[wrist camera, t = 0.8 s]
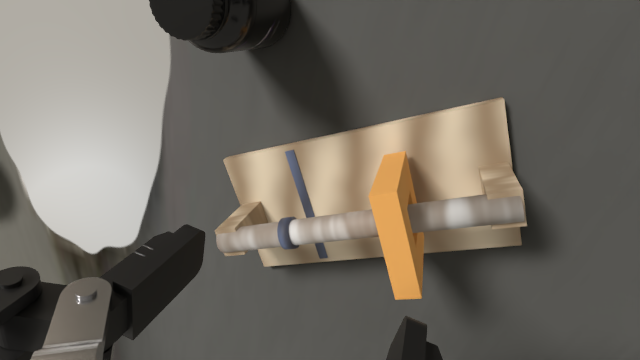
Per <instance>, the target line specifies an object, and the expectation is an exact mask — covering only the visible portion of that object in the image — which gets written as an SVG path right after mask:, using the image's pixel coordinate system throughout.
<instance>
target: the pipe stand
mask: <svg viewBox="0 0 640 360" xmlns="http://www.w3.org/2000/svg"><path fill="white" fill-rule="evenodd" d="M403 151H406V155H407V159H408V164H409V169H410V173H411V178H412V183H413V187H414V192H415V196H416V201H417V203H415V204H408V207H407V210H408V215H409V219H410V224H411V228H412V232H413V233H419V232H423V233H424V253H434V252H446V251H458V250H470V249H481V248H493V247H505V246H517V245H522V242H521V234H520V227H522V226H527V222H526V213H525V204H524V196H523V189H522V187H521V186H520V184H519V182H518V180H517V178H516V176H515V174H514V173H513V168H512V160H511V151H510V143H509V135H508V127H507V118H506V110H505V102H504V99H503V98H502V97H501V98H497V99H492V100H487V101H483V102H478V103H474V104H469V105H464V106H460V107H455V108H451V109H446V110H441V111H437V112H432V113H428V114H423V115H418V116H414V117H409V118H405V119H400V120H395V121H391V122H386V123H382V124H377V125H372V126H368V127H363V128H359V129H354V130H349V131H345V132H340V133H336V134H331V135H326V136H322V137H317V138H313V139H308V140H303V141H299V142H294V143H290V144H285V145H280V146H276V147H271V148H267V149H262V150H257V151H253V152H248V153H244V154H239V155H234V156H230V157H227V158H225V159H224V160H223V161H224V164H225V166H226V169H227V171H228V174H229V177H230V179H231V182H232V184H233V187H234V189H235V192H236V195H237V197H238V200H239V202H240V205H241V206H240V207H239V208H238V209H237V210H236V211H235V212H234V213H233V214H232V215H231V216H230V217H228V218H227V219H226V220H225V221H224V222H223V223H222V224H221V225H220V226H219V227H218V228H217V229H216V230H215V233H216V235H217V246H218V248H219V250H220V251H221V252H223V253H224V254H225V256H233V255H243V254H246V253H247V251H248V250H256V249H258V252H259V254H260V257H261V260H262V262H263V265H264V267H267V266H279V265H291V264H302V263H314V262H326V261H338V260H350V259H362V258H374V257H384V254H383V250H382V246H381V242H380V238H379V235H378V231H377V227H376V223H375V219H374V216H373V212H372V208H371V204H370V200H369V193H370V191H371V188H372V185H373V183H374V180H375V177H376V175H377V172H378V169H379V167H380V164H381V161H382V159H383V156H384V155H387V154H392V153H397V152H403Z"/></svg>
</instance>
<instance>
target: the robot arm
mask: <svg viewBox="0 0 640 360" xmlns="http://www.w3.org/2000/svg"><path fill="white" fill-rule="evenodd" d="M204 243H205V232H204V231H202V230H200V229H197V228H195V227H192V226H190V225H187V224H186V225H183V226H182V227H181V228H179V229H178V230H177V231H176V232H174V233H171V232H169V231H168V232H166V233H163V234H160V235H157V236H155V237H153V238H152V239H151V240H149V241H148V242H146V243H145V244H144V246H141V247H140V248H138V249H137V250H136V251H135V252H134V253H132V254H130V255H129V256H128V257H126V258H125V259H124V260H122V261H121V262H120V263H118V264H117V265H116V266H114V267H113V268H112V269H110V270H109V271H108V272H106V273H105V274H104V275H102V276H101V277H99V278H96V277H89V278H83V279H80V280H77V281H74V282H72V283H71V284H69V285H60V284H53V283H46V282H41V281H40V276H39V273H38V272H37V271H36V270H35V269H33V268H30V267H11V268H7V269H4V270H1V271H0V360H30V359H31V360H113V353H114V346H115V342H116V341H117V340H118V339H119V338H120V337H121V336H122V335H123V336H125V337H127V338H129V339H131V340H134V339H135V338H136V337H137V336H138V335H139V334H140V333H141V332H142V331H143V330H144V328H145V327H146V326H147V325H148V324H149V323H150V322H151V321H152V320H153V319H154V318H155V317H156V316H157V315H158V314H159V313H160V312H161V311H162V310H163V309H164V308H165V307H166V306H167V305H168V304H169V303H170V302H171V301H172V300H173V299H174V298H175V297H176V296H177V295H178V294H179V293H180V292H181V291H182V290H183V288H184V287H185V286H186V285H187V284H188V283H189V282H190V281H191V280H192V279H193V278H194V277H195V276H196V275H197V273H198V272H199V270H200V268H201V265H202V262H203V253H204ZM426 336H427V325H426V324H424V323H422V322H420V321H417V320H415V319H412V318H410V317H407V316H405V317H404V319H403V321H402V323H401V325H400V327H399V329H398V331H397V333H396V336H395V338H394V340H393V342H392V344H391V346H390V349H389V352H388V355H387V359H386V360H443V359H442V356H441V354H440V351H439V349H438V346H436V345H434V344H432V343H429V342H427V341H426Z"/></svg>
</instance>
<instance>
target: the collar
mask: <svg viewBox="0 0 640 360" xmlns="http://www.w3.org/2000/svg"><path fill="white" fill-rule="evenodd" d="M369 200H370V204H371V208H372V212H373V216H374V219H375V223H376V227H377V231H378V235H379V238H380V242H381V246H382V250H383V254H384V258H385V261H386V265H387V269H388V273H389V277H390V281H391V284H392V288H393V292H394V296H395V300H397V299H422V278H423V255H424V233H423V232H419V233H413V232H412V228H411V224H410V219H409V215H408V210H407V207H408V204H415V203H417V201H416V196H415V192H414V187H413V183H412V178H411V173H410V169H409V164H408V159H407V155H406V151H403V152H397V153H392V154H387V155H384V156H383V159H382V161H381V164H380V167H379V169H378V172H377V175H376V177H375V180H374V183H373V185H372V188H371V191H370V193H369Z"/></svg>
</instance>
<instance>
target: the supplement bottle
mask: <svg viewBox="0 0 640 360" xmlns="http://www.w3.org/2000/svg"><path fill="white" fill-rule="evenodd" d="M149 1H150V7H151V9H152V14H153V15H154V16H155V20H156V21H157V22H158V23H159V25H160V27H161V28H163V29H164V30H165V32H167V33H169V34H170V35H171V36H174V37H176V38H177V39H182V40H188V41H189V42H190V43H191V44H193V45H194V46H196V47H197V48H199V49H201V50H204V51H207V52H211V53H226V52H234V51H243V50H251V49H259V48H264V47H267V46H270V45H272V44H274V43H275V42H277V41H278V40H279V39H280V38H281V37H282V35H283V34H284V33H285V31H286V29H287V27H288V24H289V21H290V15H291V5H290V0H149Z"/></svg>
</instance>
